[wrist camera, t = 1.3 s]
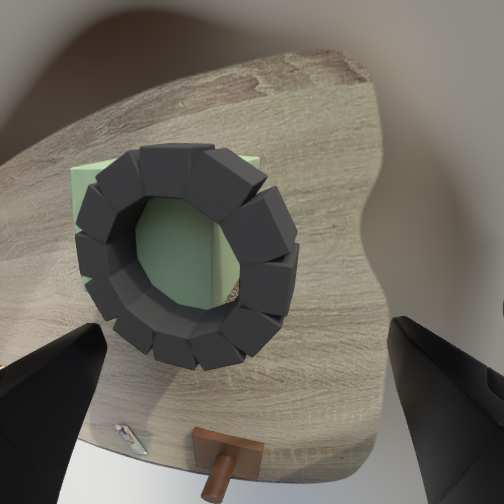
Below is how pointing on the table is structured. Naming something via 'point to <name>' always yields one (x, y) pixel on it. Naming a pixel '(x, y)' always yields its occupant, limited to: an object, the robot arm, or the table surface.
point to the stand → (225, 460)
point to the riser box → (175, 245)
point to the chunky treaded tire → (234, 228)
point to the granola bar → (130, 439)
